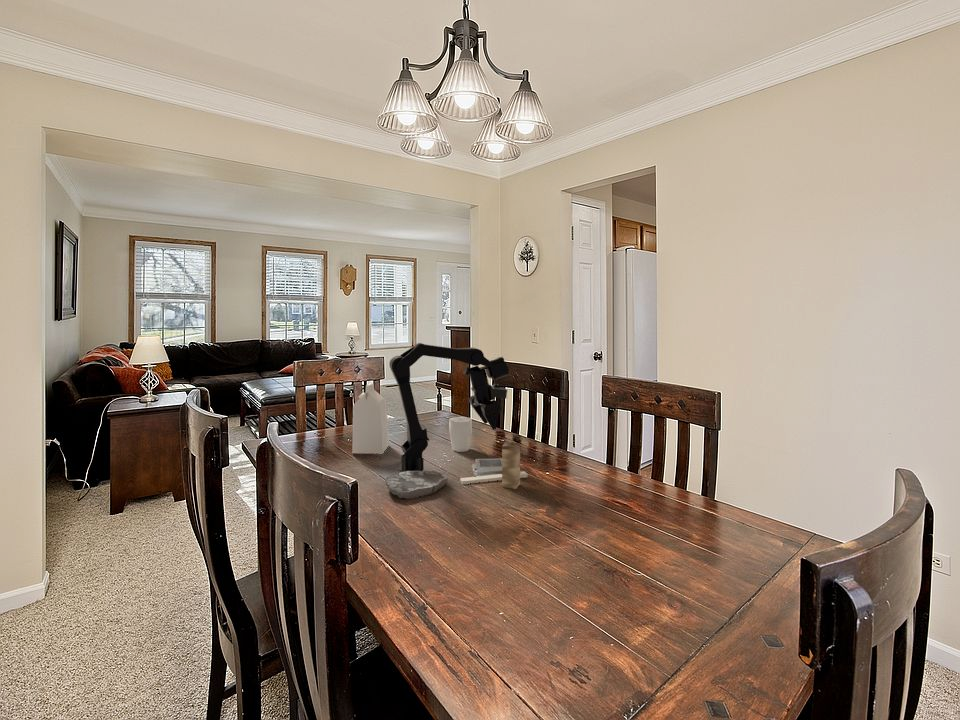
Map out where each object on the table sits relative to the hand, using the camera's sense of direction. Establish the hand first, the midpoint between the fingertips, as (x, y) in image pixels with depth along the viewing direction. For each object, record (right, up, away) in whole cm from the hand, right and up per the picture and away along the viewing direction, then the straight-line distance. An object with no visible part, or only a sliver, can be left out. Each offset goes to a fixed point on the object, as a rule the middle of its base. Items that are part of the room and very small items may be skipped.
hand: (490, 426), depth 170 cm
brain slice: (-24, -17, -21) cm, 36 cm away
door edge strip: (+1, -15, -13) cm, 20 cm away
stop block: (+6, -16, -18) cm, 25 cm away
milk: (-46, -12, +20) cm, 51 cm away
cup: (-11, -12, +21) cm, 26 cm away
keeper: (0, -14, -4) cm, 15 cm away
